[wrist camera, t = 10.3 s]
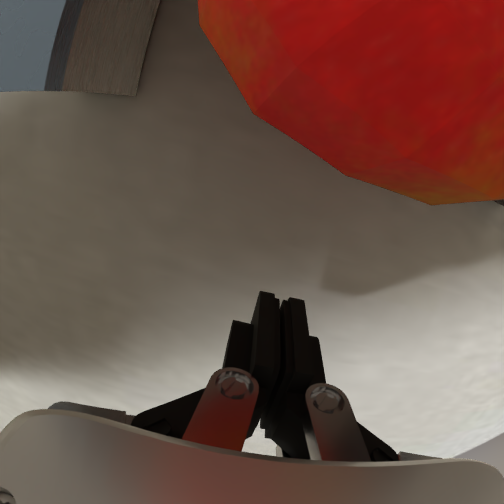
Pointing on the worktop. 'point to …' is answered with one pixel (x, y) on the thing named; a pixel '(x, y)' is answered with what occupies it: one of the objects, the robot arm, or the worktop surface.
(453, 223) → the worktop surface
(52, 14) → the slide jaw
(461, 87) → the apple
